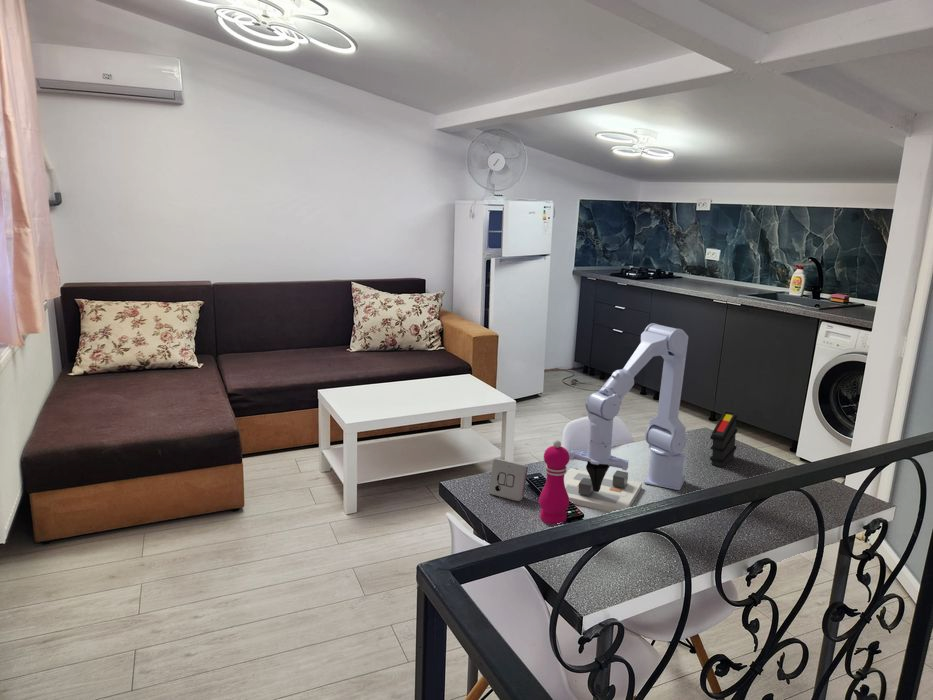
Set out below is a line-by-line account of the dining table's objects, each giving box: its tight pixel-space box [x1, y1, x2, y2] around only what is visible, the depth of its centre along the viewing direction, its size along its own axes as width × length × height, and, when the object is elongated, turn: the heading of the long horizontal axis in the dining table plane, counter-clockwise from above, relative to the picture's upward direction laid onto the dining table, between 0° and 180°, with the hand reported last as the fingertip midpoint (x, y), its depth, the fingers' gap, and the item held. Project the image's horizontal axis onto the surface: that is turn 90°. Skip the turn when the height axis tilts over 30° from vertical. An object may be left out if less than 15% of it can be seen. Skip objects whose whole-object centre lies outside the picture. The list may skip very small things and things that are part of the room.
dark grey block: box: [612, 469, 629, 488], centre depth 174 cm, size 3×4×3 cm
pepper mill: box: [538, 440, 570, 525], centre depth 157 cm, size 7×7×20 cm
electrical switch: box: [488, 458, 529, 502], centre depth 171 cm, size 9×5×9 cm, turn 60°
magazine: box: [709, 410, 739, 468], centre depth 195 cm, size 4×13×15 cm, turn 140°
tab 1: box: [578, 478, 593, 496], centre depth 169 cm, size 3×4×3 cm
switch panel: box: [564, 467, 643, 513], centre depth 173 cm, size 20×18×2 cm
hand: (596, 490), depth 168 cm, fingers closed
